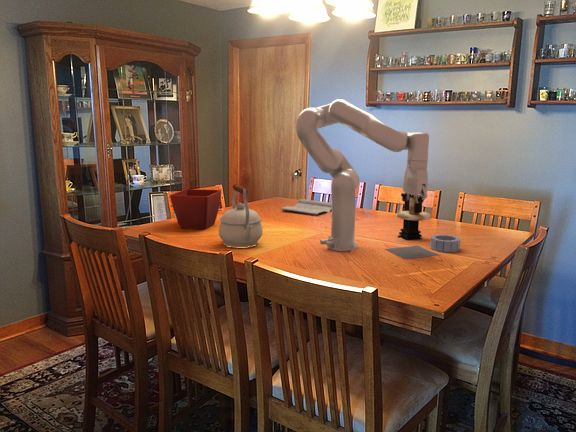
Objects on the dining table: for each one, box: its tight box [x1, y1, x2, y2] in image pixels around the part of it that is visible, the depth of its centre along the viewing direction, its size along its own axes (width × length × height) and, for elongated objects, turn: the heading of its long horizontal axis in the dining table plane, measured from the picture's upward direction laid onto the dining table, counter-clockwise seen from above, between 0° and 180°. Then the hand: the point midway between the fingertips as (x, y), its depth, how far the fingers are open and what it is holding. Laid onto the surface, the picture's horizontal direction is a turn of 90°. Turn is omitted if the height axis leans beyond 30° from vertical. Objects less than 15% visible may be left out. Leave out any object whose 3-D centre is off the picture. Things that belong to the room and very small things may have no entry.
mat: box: [281, 198, 332, 217], centre depth 281 cm, size 23×24×5 cm
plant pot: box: [169, 188, 222, 230], centre depth 240 cm, size 19×19×17 cm
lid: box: [396, 196, 432, 222], centre depth 193 cm, size 13×13×8 cm
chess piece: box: [397, 192, 423, 241], centre depth 217 cm, size 8×8×20 cm
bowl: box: [429, 234, 461, 253], centre depth 202 cm, size 11×11×5 cm
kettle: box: [218, 183, 264, 247], centre depth 205 cm, size 25×18×25 cm
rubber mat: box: [384, 245, 440, 260], centre depth 197 cm, size 16×15×1 cm
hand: (414, 211), depth 193 cm, fingers closed on lid, 4 cm apart
